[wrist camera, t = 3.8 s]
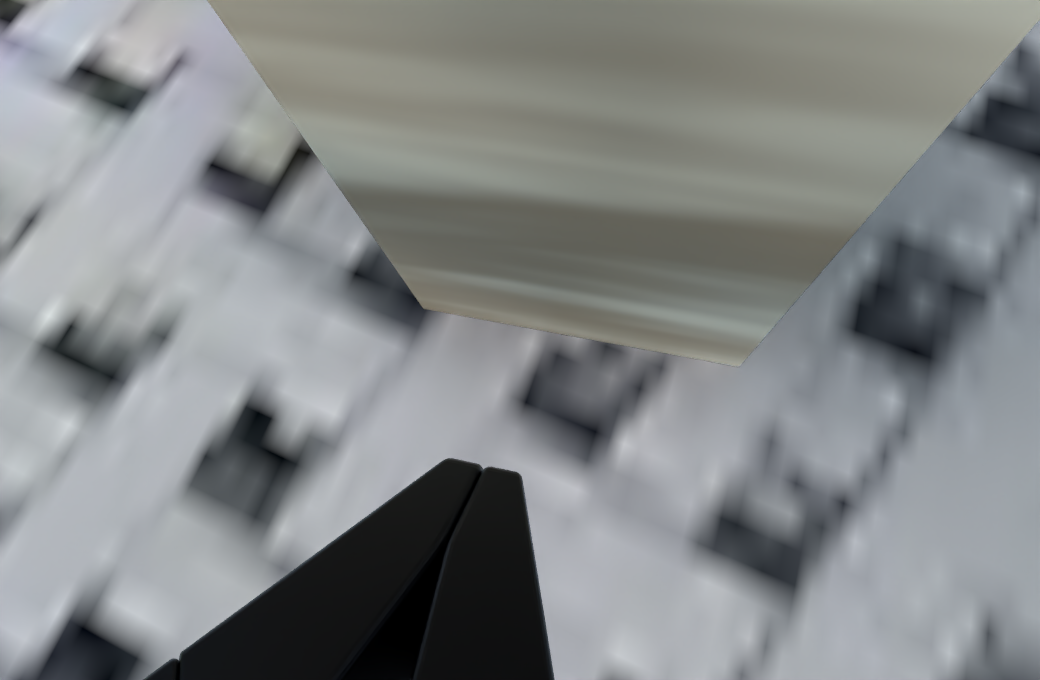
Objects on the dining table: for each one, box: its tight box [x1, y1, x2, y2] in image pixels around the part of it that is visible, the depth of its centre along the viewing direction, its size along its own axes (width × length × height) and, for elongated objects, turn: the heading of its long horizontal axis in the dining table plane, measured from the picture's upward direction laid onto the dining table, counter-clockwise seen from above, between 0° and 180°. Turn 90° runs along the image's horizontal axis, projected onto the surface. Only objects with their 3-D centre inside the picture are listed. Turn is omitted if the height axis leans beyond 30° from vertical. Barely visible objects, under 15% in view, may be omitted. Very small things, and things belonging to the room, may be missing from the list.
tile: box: [207, 0, 1040, 367], centre depth 11 cm, size 3×8×15 cm, turn 78°
